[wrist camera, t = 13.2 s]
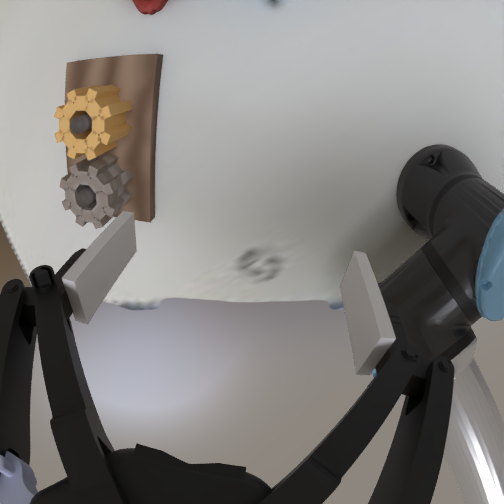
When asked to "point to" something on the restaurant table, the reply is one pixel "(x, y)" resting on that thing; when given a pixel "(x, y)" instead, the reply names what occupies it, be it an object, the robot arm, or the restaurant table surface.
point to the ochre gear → (93, 120)
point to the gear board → (128, 148)
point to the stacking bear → (149, 5)
